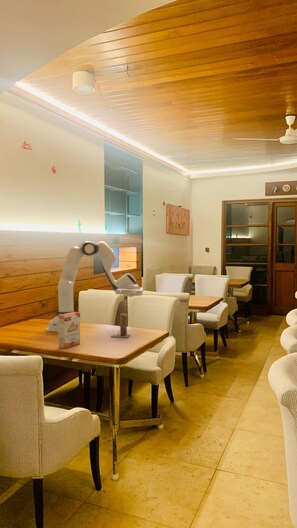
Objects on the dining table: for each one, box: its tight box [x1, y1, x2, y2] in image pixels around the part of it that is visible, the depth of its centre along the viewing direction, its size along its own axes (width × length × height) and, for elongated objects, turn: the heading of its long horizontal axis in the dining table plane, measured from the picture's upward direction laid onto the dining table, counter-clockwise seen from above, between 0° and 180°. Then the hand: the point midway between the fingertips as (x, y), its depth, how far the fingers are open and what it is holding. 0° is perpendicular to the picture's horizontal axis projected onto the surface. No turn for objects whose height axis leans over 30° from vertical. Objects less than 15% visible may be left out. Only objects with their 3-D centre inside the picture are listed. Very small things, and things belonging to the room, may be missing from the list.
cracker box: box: [58, 311, 81, 350], centre depth 248 cm, size 14×6×21 cm, turn 146°
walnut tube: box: [119, 313, 128, 336], centre depth 273 cm, size 5×5×15 cm
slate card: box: [110, 333, 131, 339], centre depth 274 cm, size 12×8×1 cm, turn 80°
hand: (127, 293), depth 284 cm, fingers open, 8 cm apart
